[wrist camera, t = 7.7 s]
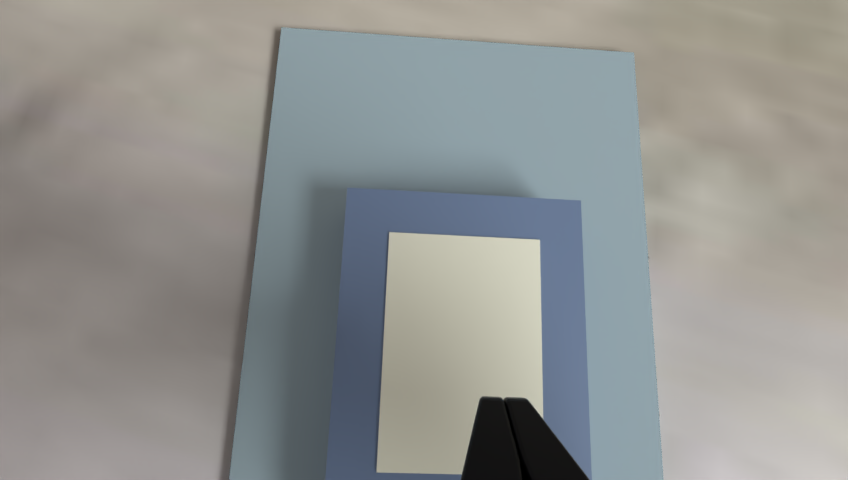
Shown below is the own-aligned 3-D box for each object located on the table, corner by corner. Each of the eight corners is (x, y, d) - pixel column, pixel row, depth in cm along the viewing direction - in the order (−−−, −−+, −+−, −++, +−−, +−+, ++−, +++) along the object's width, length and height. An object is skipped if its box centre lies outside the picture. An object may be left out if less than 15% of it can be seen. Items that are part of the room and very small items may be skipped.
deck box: (596, 575, 13) (581, 199, 15) (318, 571, 12) (346, 186, 15) (568, 546, 15) (559, 218, 17) (328, 542, 14) (352, 207, 17)
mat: (659, 521, 15) (666, 525, 15) (229, 512, 15) (224, 516, 14) (628, 58, 19) (634, 52, 19) (283, 34, 18) (281, 27, 18)
